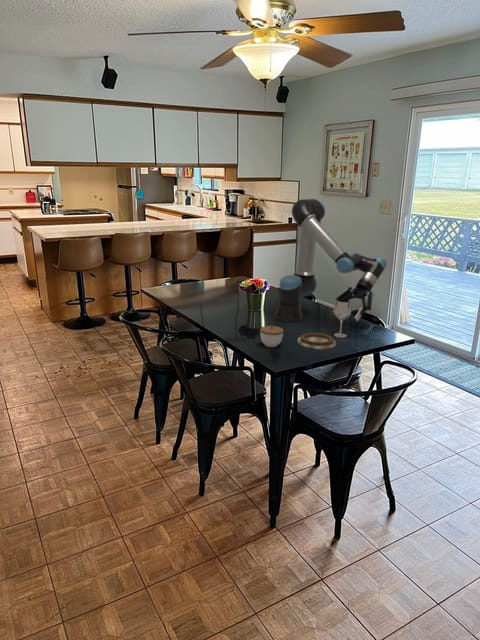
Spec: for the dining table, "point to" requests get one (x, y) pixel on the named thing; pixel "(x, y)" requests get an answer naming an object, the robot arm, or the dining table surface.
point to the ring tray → (316, 341)
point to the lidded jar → (271, 335)
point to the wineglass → (342, 314)
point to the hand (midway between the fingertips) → (344, 316)
